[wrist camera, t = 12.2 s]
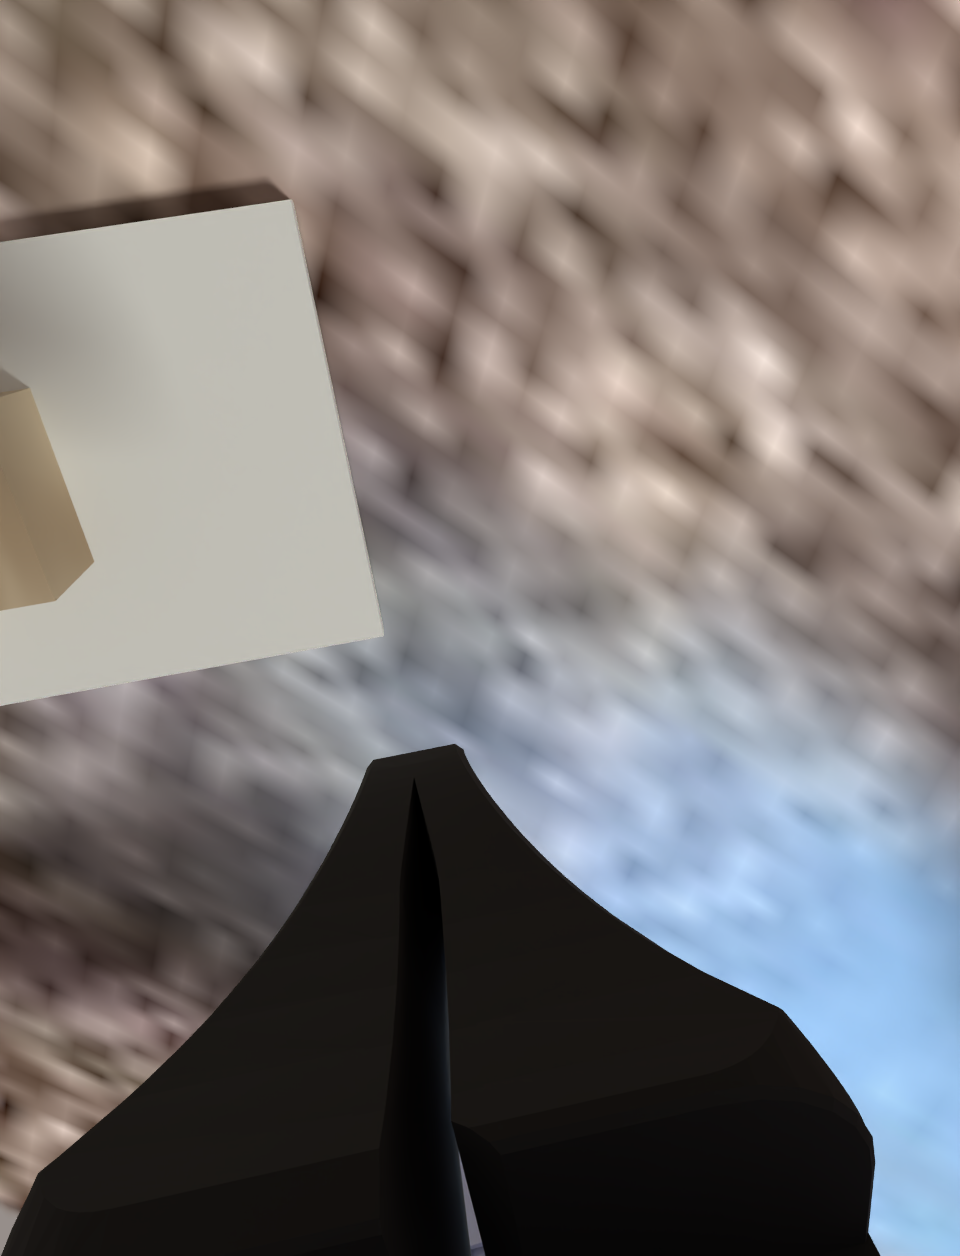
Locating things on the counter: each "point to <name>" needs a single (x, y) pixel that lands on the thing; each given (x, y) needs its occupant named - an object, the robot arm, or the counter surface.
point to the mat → (183, 450)
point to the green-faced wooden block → (34, 511)
